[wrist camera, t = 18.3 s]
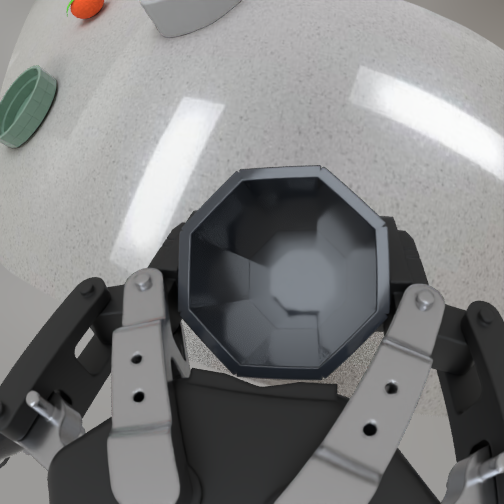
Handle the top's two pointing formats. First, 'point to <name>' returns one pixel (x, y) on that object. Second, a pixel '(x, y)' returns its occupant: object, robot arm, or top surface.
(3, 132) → the bowl
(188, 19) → the lumpy-topped squat cylinder
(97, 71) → the top surface
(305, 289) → the cup
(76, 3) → the clementine
